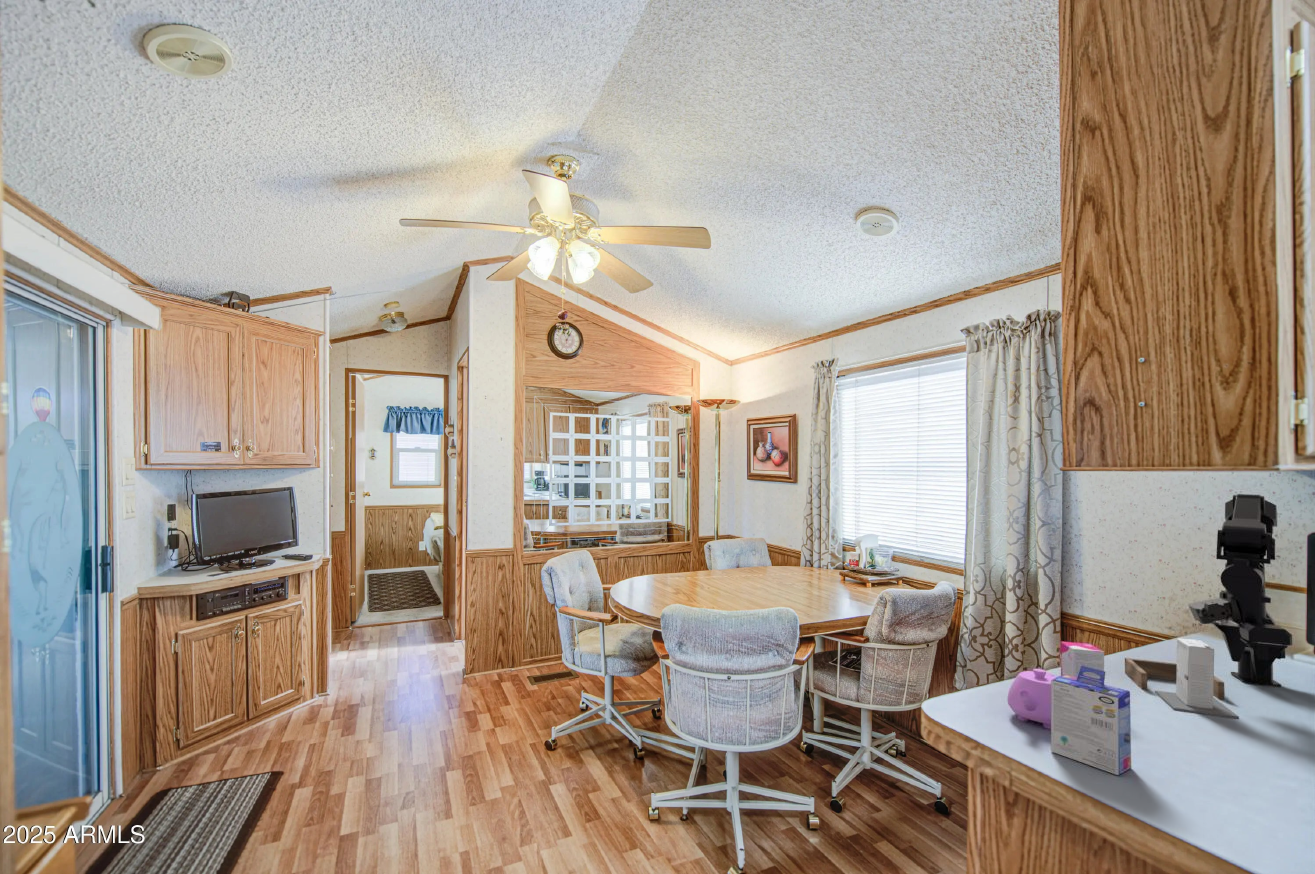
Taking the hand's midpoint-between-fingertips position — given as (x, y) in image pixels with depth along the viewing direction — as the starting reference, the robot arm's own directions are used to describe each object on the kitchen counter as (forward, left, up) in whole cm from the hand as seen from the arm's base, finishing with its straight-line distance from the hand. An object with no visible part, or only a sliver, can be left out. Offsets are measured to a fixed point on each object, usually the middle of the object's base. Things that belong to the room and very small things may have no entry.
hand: (1247, 668), depth 120 cm
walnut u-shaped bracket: (-11, -8, -9) cm, 17 cm away
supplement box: (+9, -29, -9) cm, 32 cm away
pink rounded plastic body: (+23, -39, -9) cm, 46 cm away
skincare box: (0, -8, -8) cm, 12 cm away
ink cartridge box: (+37, -34, -9) cm, 51 cm away
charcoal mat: (0, -8, -8) cm, 12 cm away
